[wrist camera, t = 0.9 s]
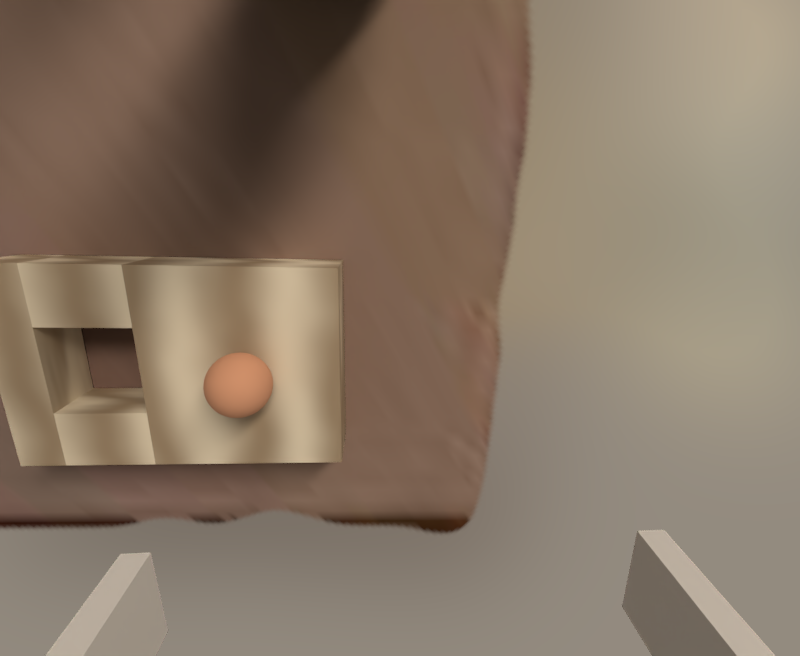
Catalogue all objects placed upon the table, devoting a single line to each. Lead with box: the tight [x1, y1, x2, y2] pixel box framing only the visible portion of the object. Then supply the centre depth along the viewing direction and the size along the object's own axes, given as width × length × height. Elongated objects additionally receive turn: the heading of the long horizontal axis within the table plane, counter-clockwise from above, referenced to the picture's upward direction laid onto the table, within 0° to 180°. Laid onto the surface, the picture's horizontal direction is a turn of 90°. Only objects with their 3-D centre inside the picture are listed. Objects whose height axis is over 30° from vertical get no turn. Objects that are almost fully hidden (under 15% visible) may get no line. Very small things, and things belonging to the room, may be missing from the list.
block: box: [0, 254, 346, 466], centre depth 29 cm, size 22×14×4 cm, turn 89°
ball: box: [203, 352, 273, 418], centre depth 25 cm, size 4×4×4 cm
